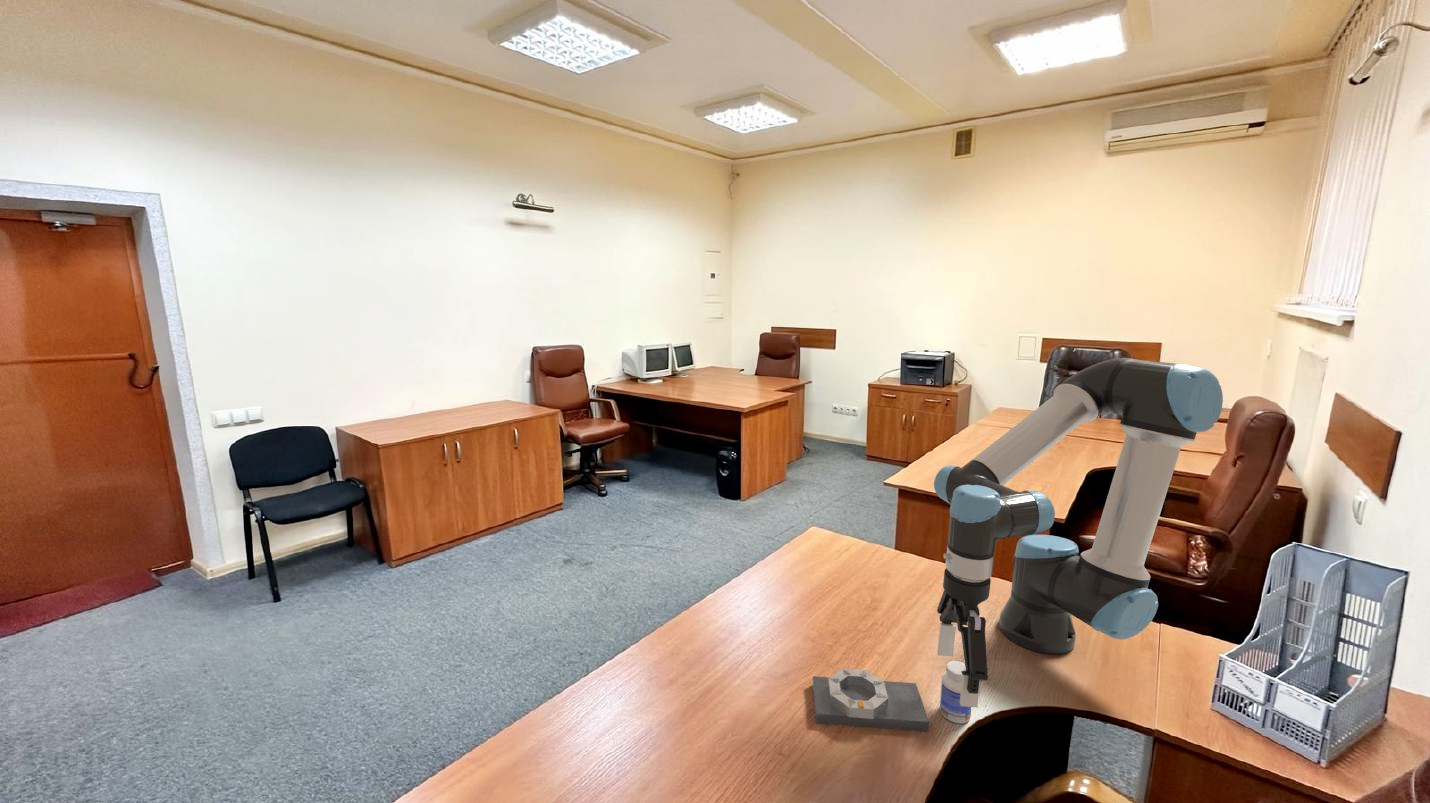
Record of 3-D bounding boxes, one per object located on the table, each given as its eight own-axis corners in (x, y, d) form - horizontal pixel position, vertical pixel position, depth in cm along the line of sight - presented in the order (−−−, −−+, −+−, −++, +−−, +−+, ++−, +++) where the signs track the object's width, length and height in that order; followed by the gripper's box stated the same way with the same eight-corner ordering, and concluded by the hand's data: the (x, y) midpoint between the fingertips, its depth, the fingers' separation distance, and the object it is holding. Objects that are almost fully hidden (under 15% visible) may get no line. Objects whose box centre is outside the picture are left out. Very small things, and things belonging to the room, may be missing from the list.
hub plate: (914, 690, 110) (916, 671, 109) (928, 732, 100) (930, 711, 99) (812, 683, 112) (813, 664, 111) (816, 723, 102) (816, 703, 101)
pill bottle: (973, 726, 101) (978, 679, 99) (942, 721, 102) (946, 675, 100) (966, 704, 106) (971, 659, 104) (936, 700, 107) (940, 656, 105)
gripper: (927, 540, 111) (918, 635, 115) (969, 610, 87) (956, 728, 91) (966, 542, 110) (955, 638, 114) (1019, 614, 86) (1004, 732, 90)
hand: (955, 678), depth 103 cm, fingers open, 13 cm apart
